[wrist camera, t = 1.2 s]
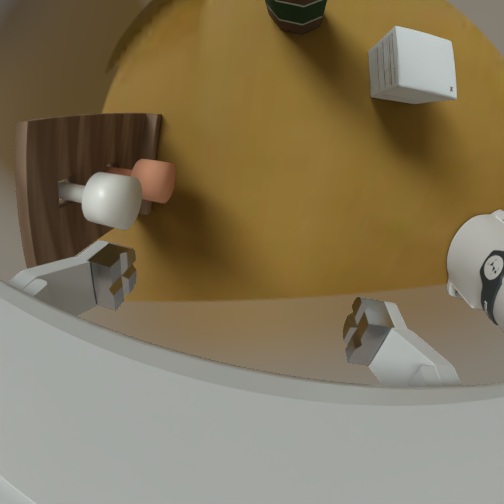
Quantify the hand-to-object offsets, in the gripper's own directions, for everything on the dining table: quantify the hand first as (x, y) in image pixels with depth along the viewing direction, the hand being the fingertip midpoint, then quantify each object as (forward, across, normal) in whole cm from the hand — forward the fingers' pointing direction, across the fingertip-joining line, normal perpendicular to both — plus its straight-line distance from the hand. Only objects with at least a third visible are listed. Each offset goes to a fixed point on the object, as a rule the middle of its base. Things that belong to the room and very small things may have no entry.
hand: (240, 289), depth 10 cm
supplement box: (+32, +14, +17) cm, 39 cm away
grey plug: (+17, -17, -3) cm, 24 cm away
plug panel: (+32, -21, -3) cm, 39 cm away
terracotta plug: (+26, -17, -3) cm, 31 cm away
